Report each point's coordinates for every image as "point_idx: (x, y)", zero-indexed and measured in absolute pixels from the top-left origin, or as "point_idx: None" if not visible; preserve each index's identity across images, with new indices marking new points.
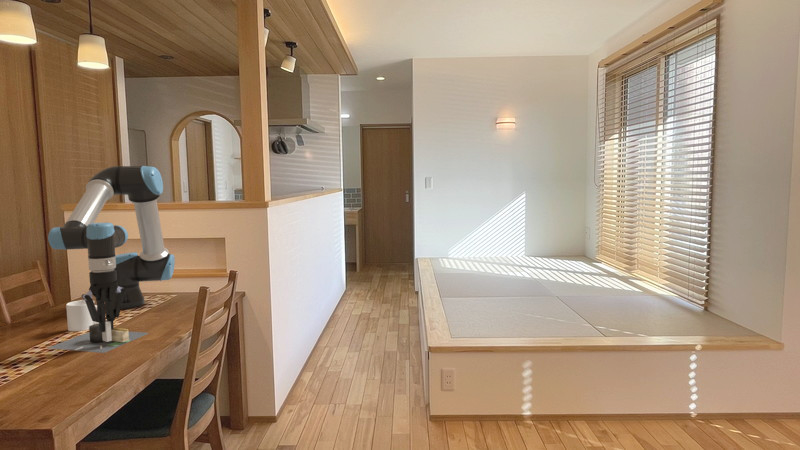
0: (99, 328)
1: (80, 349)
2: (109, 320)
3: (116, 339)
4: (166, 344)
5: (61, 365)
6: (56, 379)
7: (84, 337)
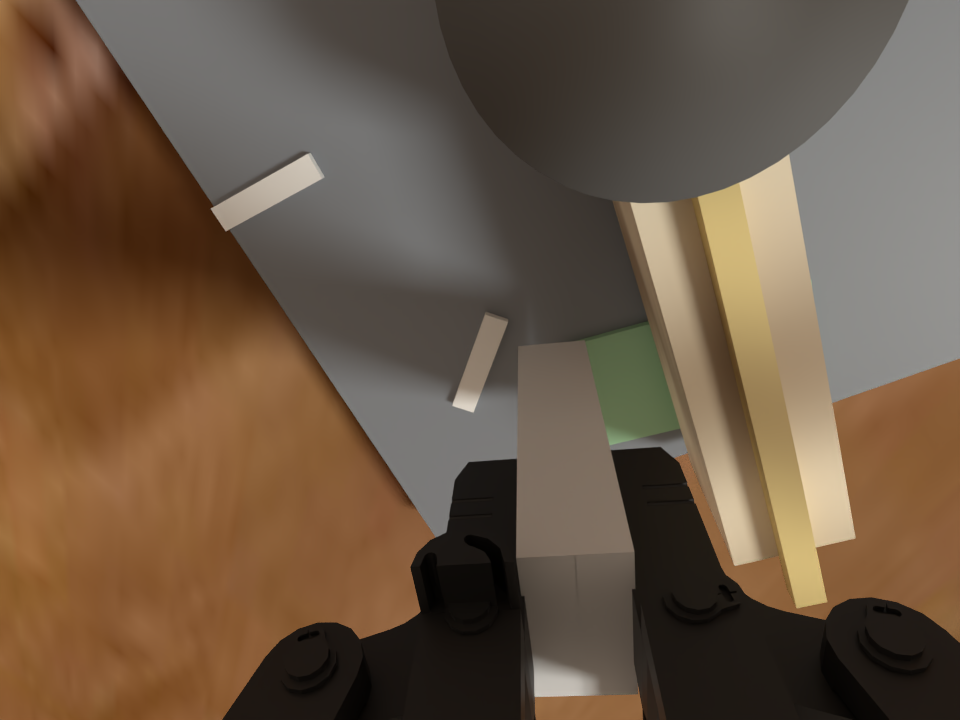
0: (451, 515)
1: (279, 238)
2: (640, 675)
3: (672, 393)
4: (951, 635)
5: (100, 441)
6: (70, 662)
7: None
